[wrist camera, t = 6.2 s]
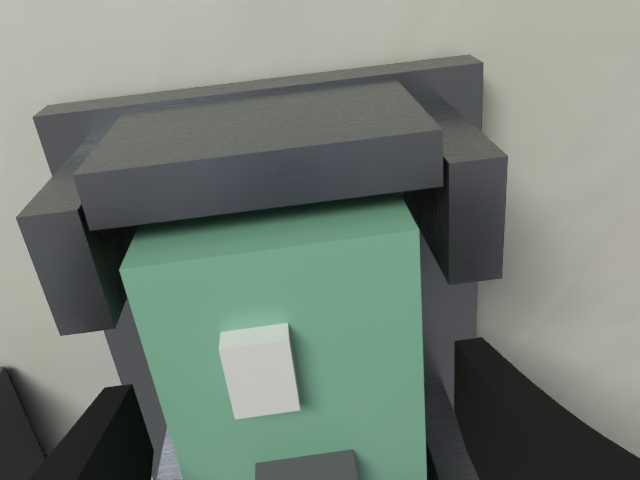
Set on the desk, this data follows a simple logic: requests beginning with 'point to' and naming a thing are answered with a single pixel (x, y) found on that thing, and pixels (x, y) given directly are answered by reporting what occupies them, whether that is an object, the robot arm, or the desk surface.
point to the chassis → (275, 199)
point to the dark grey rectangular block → (16, 436)
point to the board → (286, 340)
